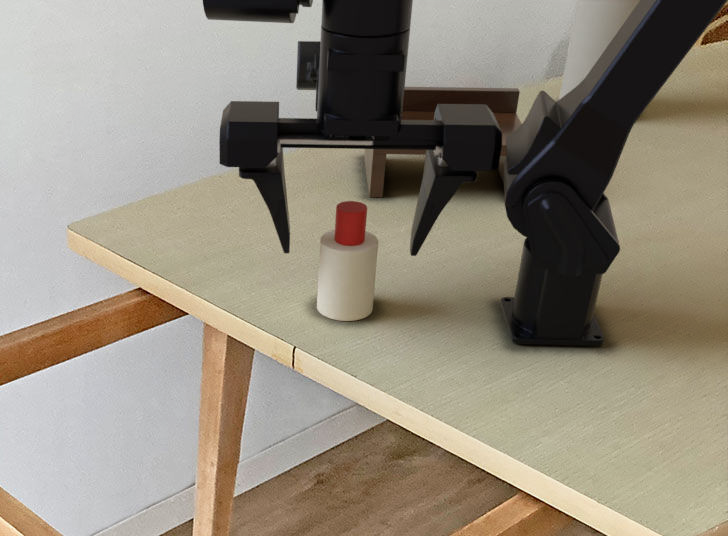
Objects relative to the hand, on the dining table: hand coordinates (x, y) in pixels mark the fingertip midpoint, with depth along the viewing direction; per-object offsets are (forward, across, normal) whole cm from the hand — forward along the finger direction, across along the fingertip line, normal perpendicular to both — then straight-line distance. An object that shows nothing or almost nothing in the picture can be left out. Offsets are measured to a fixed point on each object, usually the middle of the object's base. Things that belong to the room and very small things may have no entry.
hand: (349, 252), depth 79 cm
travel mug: (+5, -29, -48) cm, 56 cm away
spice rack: (+4, -10, -27) cm, 29 cm away
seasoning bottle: (+4, 0, 0) cm, 5 cm away
